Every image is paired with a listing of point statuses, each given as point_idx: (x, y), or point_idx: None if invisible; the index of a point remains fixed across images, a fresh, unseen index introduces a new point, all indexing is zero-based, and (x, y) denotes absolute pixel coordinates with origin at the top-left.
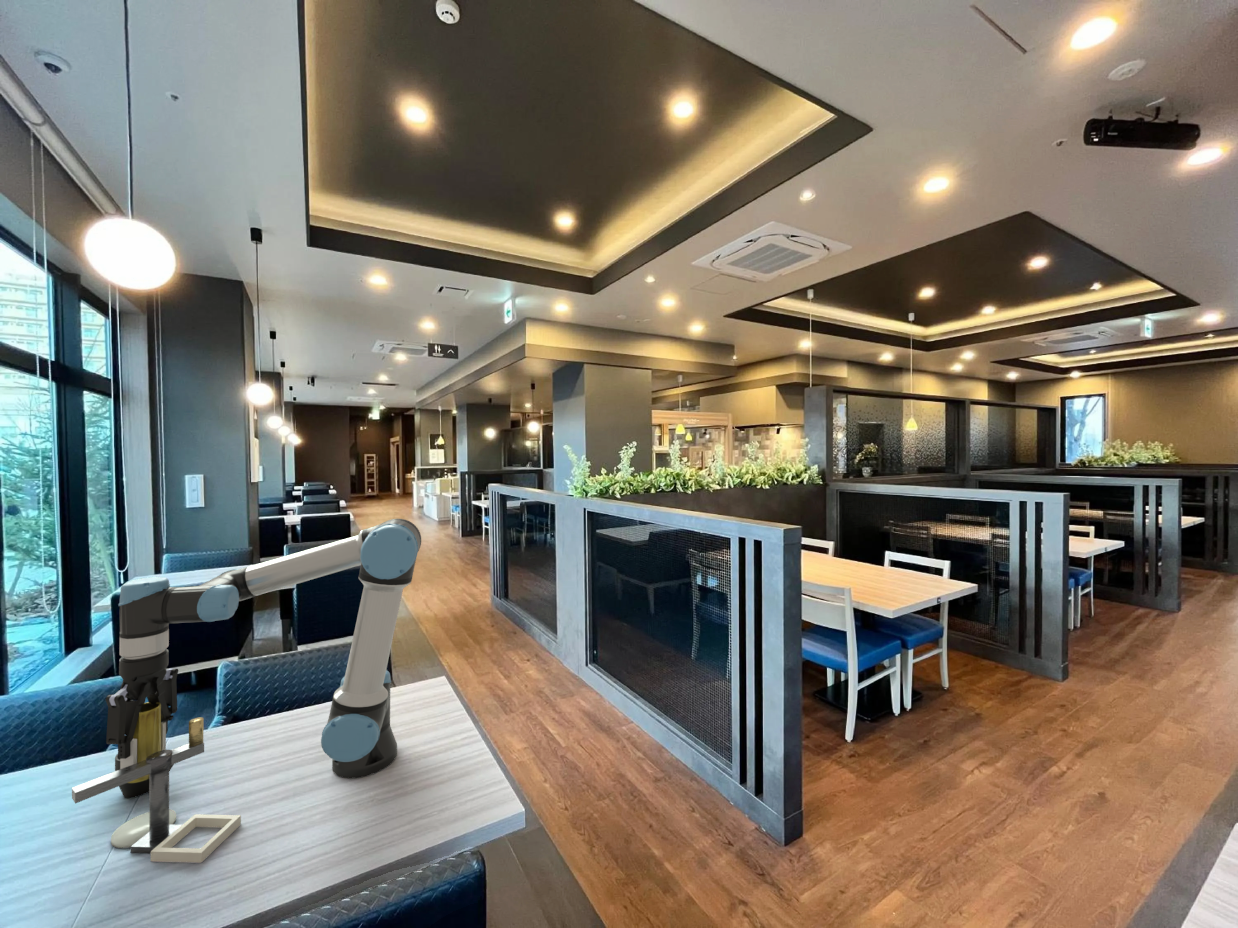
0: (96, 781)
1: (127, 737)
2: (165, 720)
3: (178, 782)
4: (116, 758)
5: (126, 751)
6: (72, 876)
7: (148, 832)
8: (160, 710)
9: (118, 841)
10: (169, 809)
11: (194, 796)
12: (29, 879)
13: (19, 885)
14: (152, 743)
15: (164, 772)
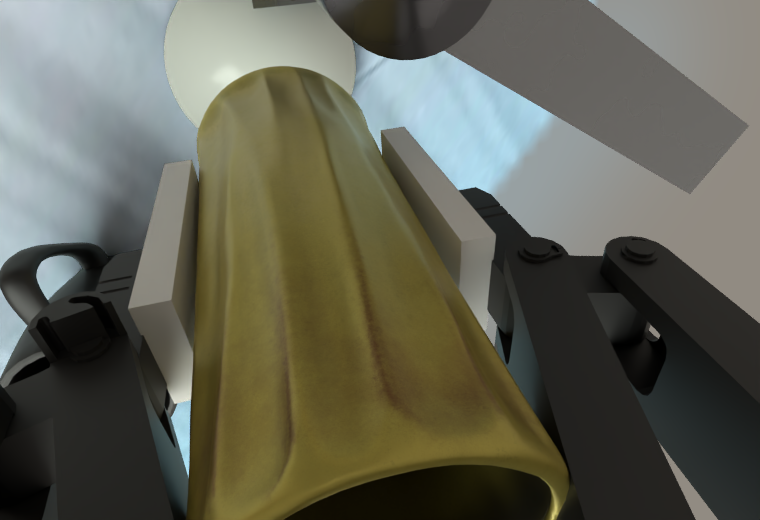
0: (664, 123)
1: (570, 268)
2: (118, 330)
3: (27, 211)
4: (170, 412)
5: (494, 211)
6: (461, 79)
7: (298, 3)
8: (227, 424)
9: (345, 80)
10: (167, 64)
11: (50, 55)
12: (468, 180)
13: (485, 181)
14: (332, 161)
15: None
